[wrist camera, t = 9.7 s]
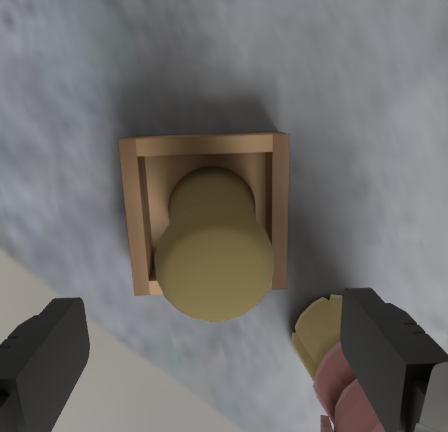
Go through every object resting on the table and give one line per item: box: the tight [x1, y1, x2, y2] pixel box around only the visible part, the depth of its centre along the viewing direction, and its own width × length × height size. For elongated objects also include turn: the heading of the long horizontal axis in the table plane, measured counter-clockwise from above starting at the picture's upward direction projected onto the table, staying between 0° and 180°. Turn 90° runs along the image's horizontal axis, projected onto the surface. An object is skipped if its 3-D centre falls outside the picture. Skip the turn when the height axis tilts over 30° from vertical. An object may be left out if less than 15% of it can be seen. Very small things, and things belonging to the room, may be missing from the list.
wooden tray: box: [118, 132, 290, 296], centre depth 24 cm, size 10×10×3 cm
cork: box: [154, 166, 274, 322], centre depth 19 cm, size 6×6×11 cm
